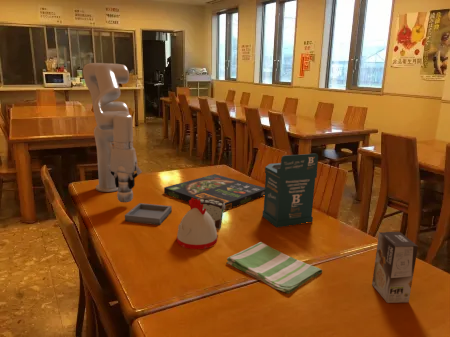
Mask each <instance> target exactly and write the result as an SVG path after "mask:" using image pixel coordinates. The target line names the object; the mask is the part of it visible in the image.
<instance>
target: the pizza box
mask: <svg viewBox="0 0 450 337" xmlns="http://www.w3.org/2000/svg"><path fill="white" fill-rule="evenodd" d="M163 190H164V191H163V192H164V193H163V194H165V195H167V196H170V197H173V198H174V199H175V198H176V199H179V200H181V201H184V202H187V203H189V200H191V198H194V201H195V199H198V198H201V197H215V198H219V199H222V200H223V201H224V203H225V209H224V210H223V212H225V211H227V210H231V209H233V208H236V207H238V206H241V205H243V204H246V203H248V202H251V200H252V201H254V200H257V199H259V198H262V197H264V196H263V195H265V186H260V185H256V184H253V183H249V182H246V181H243V180H242V181H241V180H238V179H234V178H231V177H227V176H223V175H219V174H215V173H214V174H211V175H207V176H202V177H199V178H195V179H191V180H187V181H183V182H179V183H175V184H172V185H168V186H165V187H164V188H163ZM261 196H262V197H261ZM258 197H259V198H258ZM256 198H257V199H256Z"/></svg>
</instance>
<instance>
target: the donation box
mask: <svg viewBox="0 0 450 337" xmlns="http://www.w3.org/2000/svg"><path fill="white" fill-rule="evenodd" d="M318 162H319V155H318V153H305V154H291V155H290V154H288V155H282V156H281V158H280V162H278V163H277V162H276V163H269V164H267V165H266V166H265V167H264V173H265V182H264V188H265V196H263V197H264V198H263V199H264V200H263V201H264V202H263V210H262V214H261V215H262V218H264V219H265V220H266V221H268V222H269V223H270V224H272V225H273V226H274V227H275V228H277V229H278V228H282V227H283V226H284V227H290V226H289V225H292V226H297V225H296V224H299V225H302V224H301V223H305V224H307V223H306V222H312V223H313V221H314V218H313V217H314V216H313V207H314V206H313V204H314V194H315V184H316V178H317V177H318Z"/></svg>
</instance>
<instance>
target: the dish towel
mask: <svg viewBox="0 0 450 337" xmlns="http://www.w3.org/2000/svg"><path fill="white" fill-rule="evenodd" d="M226 260H227V262H226V264H228V265H230V266H231V267H234V268H235V269H237V270H239V271H241V272H243V273H245V274H246V275H247V274H248V275H249V276H251V277H253V278H255V279H256V280H259V281H261V282H263V283H265V284H266V285H268V286H270V287H271V288H273V289H275V290H278V291H280V292H283V293H285V294H291V293H292V292H294V291H295V290H297V289H298V288H299V287H301V286H302V285H304V284H305V283H306V282H308V281H309V280H310V279H312V278H316V277H317V276H319V275H320V274H322V273H323V269H321V268H319V267H318V266H314V265H311V264H308V263H306V262H304V261H302V260H300V259H299V260H298V259H297V258H294V257H292V256H289V255H287V254H285V253H283V252H281V251H279V250H277V249H275V248H273V247H271V246H269V245H267V244H266V243H264V242H262V241H260V242H258V243H256V244H254V245H251V246H249V247H248V248H246V249H243V250H241V251H238V252H237V253H235V254H233V255H231V256H228V257H227V258H226Z"/></svg>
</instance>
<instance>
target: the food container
mask: <svg viewBox="0 0 450 337" xmlns="http://www.w3.org/2000/svg"><path fill="white" fill-rule="evenodd" d="M197 200H200V202H201V205H202V204H203V209H206V211H207V212H208V214H209V215H210V216H211V217H212V219H213V220H215V227H216V230H220V229H221V228H222V223H223V222H222V221H223V215H224V211H223V210H224V209H225V203H224V201H223V200H222V199H219V198H215V197H201V198H198V199H197Z"/></svg>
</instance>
